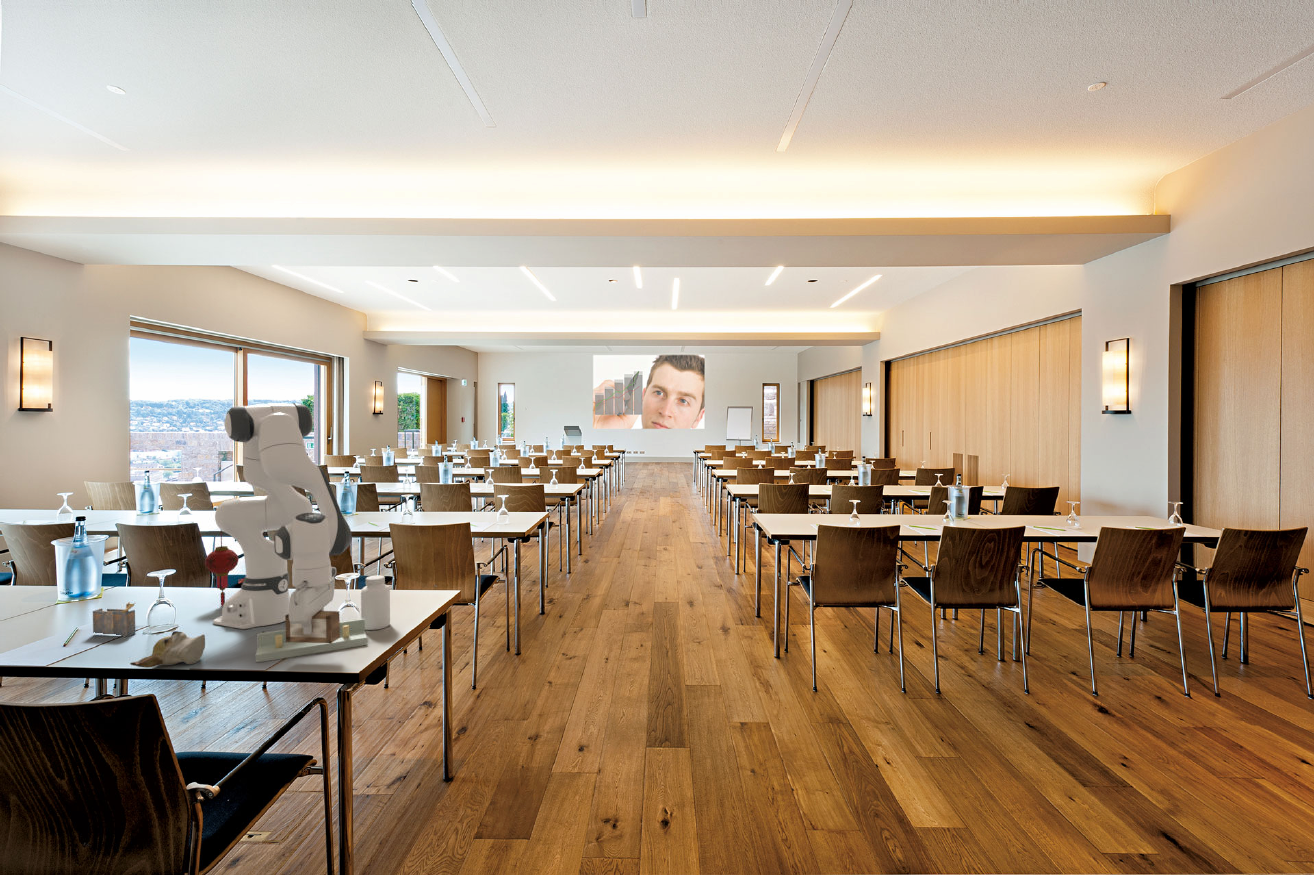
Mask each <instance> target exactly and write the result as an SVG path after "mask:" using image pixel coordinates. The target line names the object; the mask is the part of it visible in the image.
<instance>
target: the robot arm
mask: <svg viewBox="0 0 1314 875" xmlns="http://www.w3.org/2000/svg"><path fill="white" fill-rule="evenodd" d="M223 424H224V429H225V432H226V433H227V435H228V438H230V439H231V440H232V441H234V442H238V443H243V444H242V467H243V468H242V471H243V472H242V473H243V479H244V481H245V482H246V483H247V484H248V485H250V486H252V487H254V488H257V489H260V490H261V491H264V492H265V493H266V494H267V495H261V496H260V495H259V496H258V495H257V496H246V497H245V496H243V497H242V496H241V497H235V498H231V499H228V500H223V501H222V502H221V503H220V504H219V506H218V507H217V509H216V510H215V512H214V513H215V514H214V519H215V520H214V521H215V523H216V526H217V527H218V528H219V529H220V531H221V530H222V533H223V532H224V533H225V534H227V535H230V536H231V537H232V538H233V539H234V540H235V541H236V542H237V543H238V545H239V546H240V548H241V550H242V552H243V557H244V564H245V565H244V566H245V576H244V578H240V579H238V580H237V581H238V584H241V586H240V589H239V590H238V591H236V593H234V594H233V595H231V596H230V597H229V598H228V599H227V600H225V603H224V605H223V606H222V608H221V609H222V610H221V615H220V616H218V617H216V618H215V619H213V620H212V624H213V625H217V626H218V625H219V626H225V627H229V628H235V629H240V630H241V629H242V630H246V629H252V628H257V627H263V626H270V625H275V624H280V623H282V622H286V620H285V615H287V614H289V621H290V623H291V624H299V623H301V624H302V626H303V633H304V634H310V633H312V632H313V625H311V620H312V616H314V615H315V614H316V613H317V612H319V611H325V610H324V609H325V607H326V606H327V605H329V604H330V603H331V602H332V601H333V600H334V596H335V585H336V584H335V576H336V575H337V568H336V567H335V566H332V563H331V562H332V561H331V559H330V556H338V555H339V556H340V555H342V554H343V553H344V552H345V551H346V550H347V549H348V548H349V546H350V545H351V544H352V539H353V537H352V536H353V535H352V530H351V527H350V525H349V524H348V522H347V520H346V518H345V517H344V514H343V513H342V511H341V508H340V506H339V503H338V501H337V498H336V495H335V493H334V491H333V488H332V485H331V483H330V482H329V479H328V477H327V475H326V472H325V470H324V469H323V467H321V466H319V465H316V464H315V463H314V462H313V461H312V459H311V458H310V456H309V455H308V453H307V449H306V446H305V445H306V444H305V442H304V438H305V437H308V436H309V435H310V433H312V429H313V426H314V417H313V414H312V411H311V409H310V408H309V407H308V406H307V405H305V404H302V403H296V402H295V403H280V402H279V403H278V402H277V403H276V402H275V403H274V402H272V403H270V402H269V403H263V404H251V405H237V406H234V407H231V408H229V410H227V412H226V415H225V418H224V423H223ZM294 487H296V488H299V489H303V490H305V491H306V492H308V493H310V494H311V496H313V497H314V500H315V502H316V505H317V507H318V510H319V511H320V513H319V512H318V513H317V512H313V506H312V503H311V501H310V499H309V498H307V497H306V496H305V495H303V494H301V493H300V492H298V491H297V490H296V489H295V488H294ZM269 531H276V532H275V533H274V537H273V539H274V541H273V540H271V539H267V538H266V537H264V535H263V534H264V532H269ZM288 561H292V566H291V578H292V580H291V581H292V582H291V583H292V587H295V589H294V591H293V592H291V594H290V591H289V584H290V573H289V572H288Z"/></svg>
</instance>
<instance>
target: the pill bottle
mask: <svg viewBox="0 0 1314 875" xmlns="http://www.w3.org/2000/svg"><path fill="white" fill-rule="evenodd" d="M385 578H386V577H385V576H384V575H383V574H382V575H380V574H379V575H378V574H377V575H370V576H367V577H366V578H365V586H364V587H362V589H361V591H360V600H361V601H360V607H361V608H360V612H361V613H360V617H361V618H360V619H365V630H366V631H375V630H380V629H385V628H387V627H389V626H390V624H391V604H390V603H391V597H390V596H391V593H390V592H391V591H390V586H388V585H387V584H386V581H385V580H386V579H385Z"/></svg>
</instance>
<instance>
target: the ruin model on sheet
mask: <svg viewBox="0 0 1314 875" xmlns="http://www.w3.org/2000/svg"><path fill="white" fill-rule="evenodd" d="M135 604H136V602H134V603H131V602H130V601H129V602H128V603H126V604H125V608H124V609H123V608H121V609H120V608H107V609H106V610H103V608H99V609H95V610H92V632H93V633H94V632H95V633H103V634H116V635H121V636H129V637H131V636H130V635H132V636H134V635H133V634H135V635H137V634H136V610H135V609H132V608H133V607H134V606H135ZM131 609H132V610H131ZM93 633H92V634H93Z"/></svg>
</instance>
